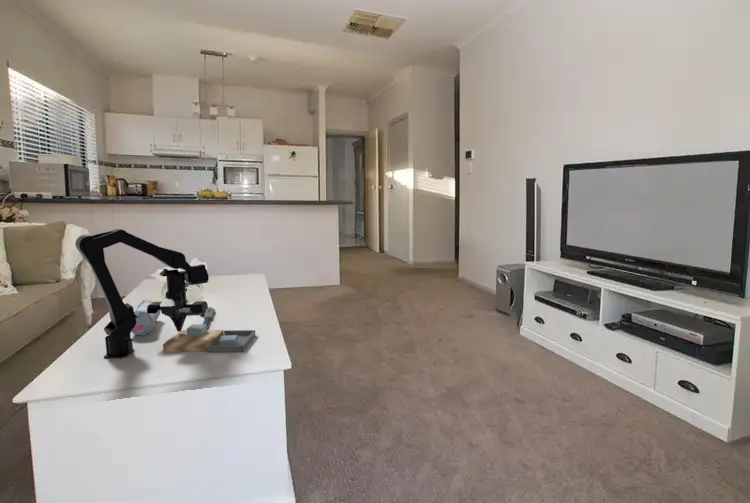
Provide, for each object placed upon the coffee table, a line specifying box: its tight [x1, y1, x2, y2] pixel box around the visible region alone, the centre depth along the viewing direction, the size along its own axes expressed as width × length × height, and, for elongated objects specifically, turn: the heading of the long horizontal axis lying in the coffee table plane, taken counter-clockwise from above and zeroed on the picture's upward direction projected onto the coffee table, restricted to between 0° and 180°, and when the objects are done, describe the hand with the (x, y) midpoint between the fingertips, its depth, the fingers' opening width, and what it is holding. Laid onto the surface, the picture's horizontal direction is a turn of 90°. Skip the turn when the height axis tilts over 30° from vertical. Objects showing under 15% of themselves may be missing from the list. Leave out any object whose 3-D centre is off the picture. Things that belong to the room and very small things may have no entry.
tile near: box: [219, 335, 238, 346], centre depth 145 cm, size 5×5×2 cm
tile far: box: [186, 323, 208, 336], centre depth 151 cm, size 5×5×2 cm
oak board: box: [162, 329, 225, 353], centre depth 148 cm, size 15×14×2 cm
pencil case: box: [131, 299, 161, 336], centre depth 165 cm, size 21×9×10 cm, turn 20°
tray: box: [207, 329, 256, 353], centre depth 148 cm, size 11×16×2 cm
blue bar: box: [187, 307, 216, 330], centre depth 172 cm, size 34×2×12 cm
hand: (179, 331), depth 151 cm, fingers closed
